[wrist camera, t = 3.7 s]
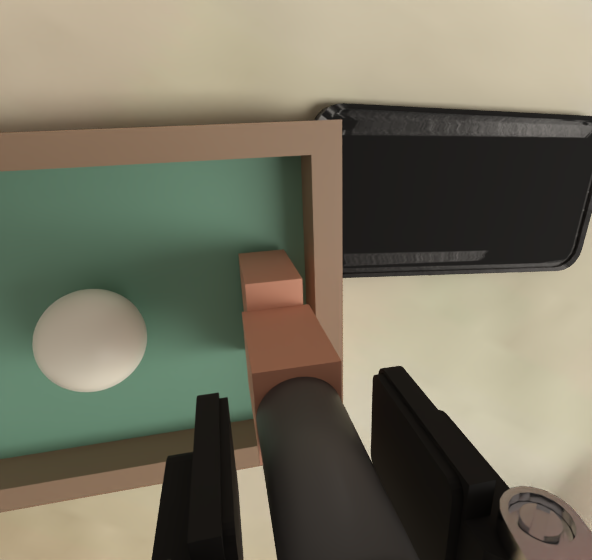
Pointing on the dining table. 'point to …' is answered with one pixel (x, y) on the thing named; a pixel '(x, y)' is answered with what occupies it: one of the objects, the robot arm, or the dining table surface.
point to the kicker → (309, 428)
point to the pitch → (152, 284)
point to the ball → (89, 340)
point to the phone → (461, 190)
